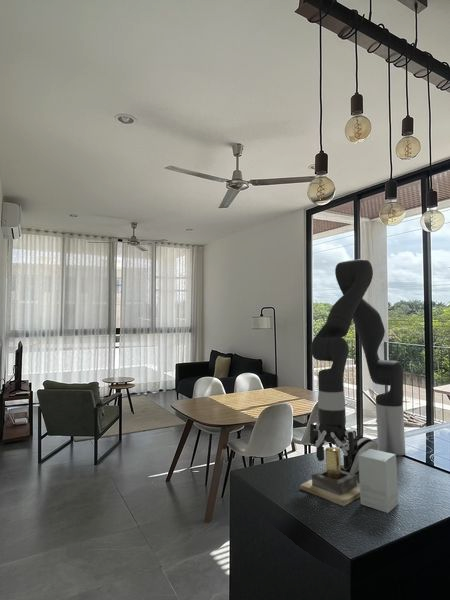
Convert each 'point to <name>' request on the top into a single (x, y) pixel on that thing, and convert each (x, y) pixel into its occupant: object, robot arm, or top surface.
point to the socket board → (332, 496)
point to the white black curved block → (362, 447)
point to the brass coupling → (333, 463)
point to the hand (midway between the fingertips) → (333, 464)
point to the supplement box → (378, 480)
